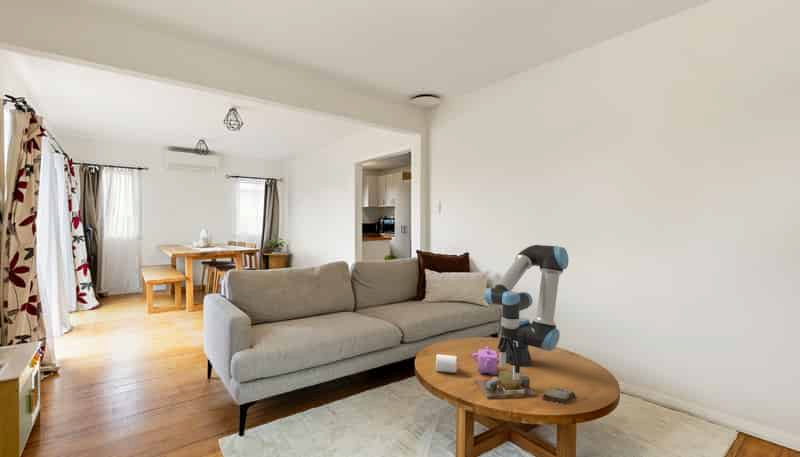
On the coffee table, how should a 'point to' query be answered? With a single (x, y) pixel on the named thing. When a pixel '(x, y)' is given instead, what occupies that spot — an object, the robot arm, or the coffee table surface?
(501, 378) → the gold cube
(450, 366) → the mug
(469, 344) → the coffee table surface
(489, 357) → the teapot
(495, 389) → the shafts
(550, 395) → the stone
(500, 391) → the framed base plate
